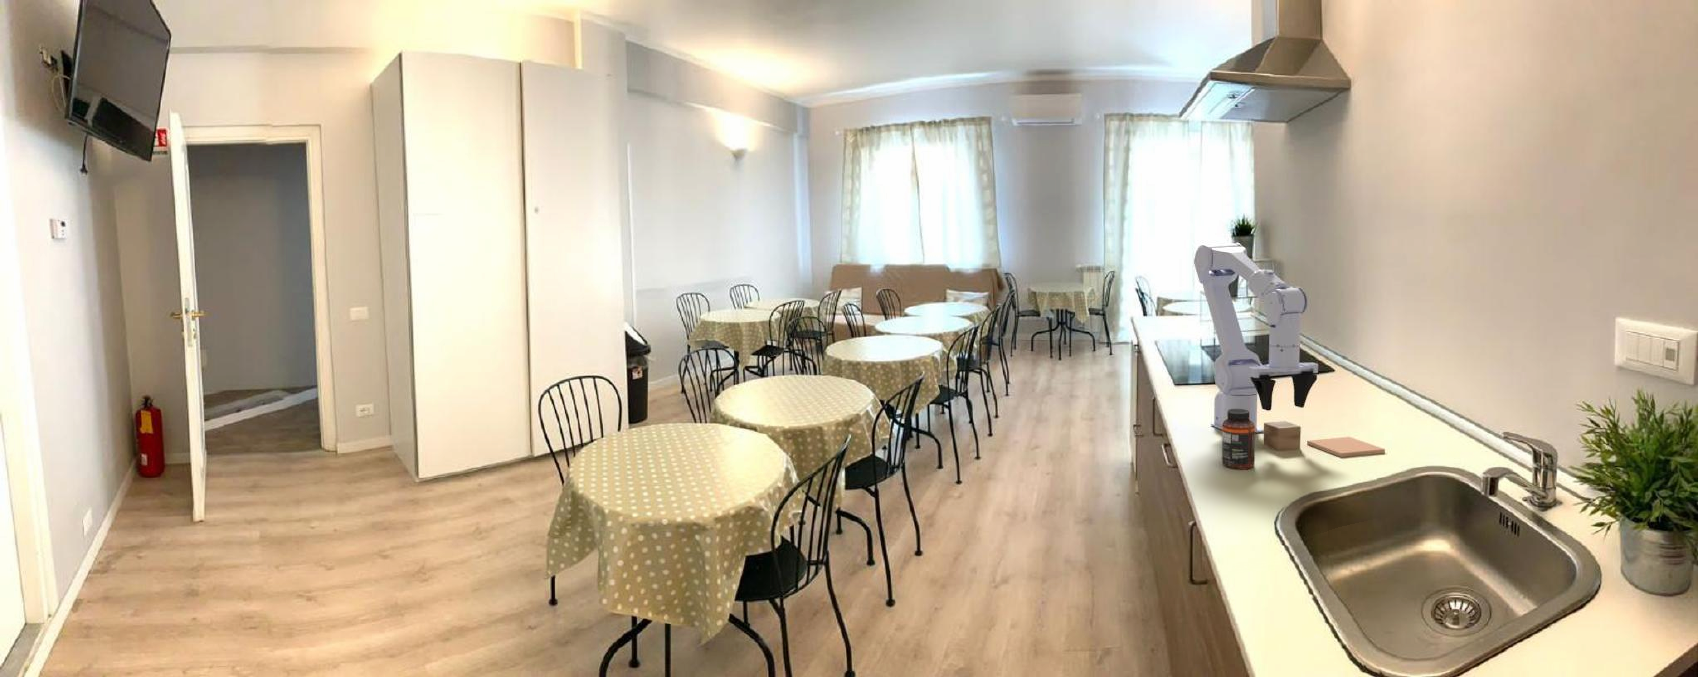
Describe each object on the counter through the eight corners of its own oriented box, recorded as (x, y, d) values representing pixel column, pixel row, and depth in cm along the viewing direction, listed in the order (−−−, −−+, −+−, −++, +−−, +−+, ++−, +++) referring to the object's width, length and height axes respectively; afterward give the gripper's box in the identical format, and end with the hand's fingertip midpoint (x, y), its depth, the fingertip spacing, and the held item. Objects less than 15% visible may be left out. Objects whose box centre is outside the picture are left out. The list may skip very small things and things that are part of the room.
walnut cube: (1263, 445, 181) (1263, 422, 180) (1284, 443, 181) (1285, 421, 181) (1278, 451, 176) (1279, 428, 175) (1300, 449, 176) (1300, 426, 176)
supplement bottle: (1247, 460, 170) (1248, 406, 169) (1259, 469, 164) (1260, 413, 163) (1217, 461, 171) (1218, 407, 169) (1227, 470, 165) (1228, 414, 163)
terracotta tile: (1307, 444, 179) (1307, 440, 179) (1349, 440, 181) (1349, 436, 181) (1340, 457, 170) (1340, 453, 169) (1384, 452, 171) (1384, 449, 171)
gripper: (1264, 350, 170) (1263, 415, 172) (1329, 345, 172) (1327, 409, 174) (1243, 345, 177) (1242, 407, 179) (1305, 340, 179) (1304, 402, 181)
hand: (1282, 408), depth 177 cm, fingers open, 7 cm apart
